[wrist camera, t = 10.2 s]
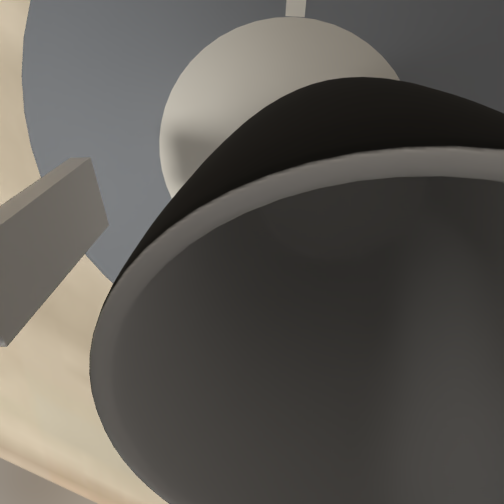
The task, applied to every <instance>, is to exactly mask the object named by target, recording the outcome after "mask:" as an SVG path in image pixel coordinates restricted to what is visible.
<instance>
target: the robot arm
mask: <svg viewBox="0 0 504 504" xmlns="http://www.w3.org/2000/svg"><path fill="white" fill-rule="evenodd" d="M108 226H109V223H108V220H107V216H106V212H105V209H104V205H103V201H102V198H101V194H100V190H99V187H98V183H97V179H96V176H95V172H94V168H93V165H92V161H91V157H84V158H69V159H68V160H67V161H65V162H64V163H62V164H61V165H59V166H58V167H56V168H55V169H53V170H52V171H50V172H49V173H48V174H46V175H45V176H43V177H42V178H40V179H39V180H37V181H36V182H34V183H33V184H32V185H30V186H29V187H27V188H26V189H24V190H23V191H21V192H20V193H18V194H17V195H16V196H14V197H13V198H11V199H10V200H8V201H7V202H5V203H4V204H2V205H1V206H0V347H7V346H8V345H9V344H10V342H11V341H12V340H13V339H14V338H15V336H16V335H17V334H18V333H19V332H20V330H21V329H22V328H23V327H24V326H25V324H26V323H27V322H28V321H29V320H30V319H31V317H32V316H33V315H34V314H35V313H36V311H37V310H38V309H39V308H40V307H41V305H42V304H43V303H44V302H45V301H46V299H47V298H48V297H49V296H50V295H51V293H52V292H53V291H54V290H55V289H56V288H57V286H58V285H59V284H60V283H61V282H62V280H63V279H64V278H65V277H66V276H67V274H68V273H69V272H70V271H71V270H72V268H73V267H74V266H75V265H76V264H77V262H78V261H79V260H80V259H81V258H82V257H83V255H84V254H85V253H86V252H87V251H88V249H89V248H90V247H91V246H92V245H93V243H94V242H95V241H96V240H97V239H98V237H99V236H100V235H101V234H102V233H103V232H104V230H105V229H106V228H107V227H108Z"/></svg>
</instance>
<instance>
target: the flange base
mask: <svg viewBox="0 0 504 504" xmlns="http://www.w3.org/2000/svg"><path fill="white" fill-rule="evenodd" d="M347 77H375V78H387V79H393V80H399V81H405V82H411V83H415V84H419V85H422V86H426V87H429V88H433V89H436V90H440V91H443V92H447V93H450V94H454V95H457V96H460V97H463V98H466V99H469V100H471V101H474V102H477V103H479V104H482V105H484V106H487V107H489V108H492V109H494V110H497V111H499V112H502V113H504V0H31V1H30V6H29V12H28V17H27V23H26V28H25V34H24V42H23V62H22V86H23V100H24V113H25V118H26V123H27V128H28V133H29V138H30V143H31V148H32V151H33V154H34V157H35V160H36V163H37V166H38V170H39V173H40V176H41V178H42V177H43V176H45V175H46V174H48V173H49V172H50V171H52V170H53V169H55V168H56V167H58V166H59V165H61V164H62V163H64V162H65V161H67V160H68V159H69V158H84V157H91V161H92V165H93V168H94V172H95V176H96V179H97V183H98V187H99V190H100V194H101V198H102V201H103V205H104V209H105V212H106V216H107V220H108V223H109V226H108V227H107V228H106V229H105V230H104V232H103V233H102V234H101V235H100V236H99V237H98V239H97V240H96V241H95V242H94V243H93V245H92V246H91V247H90V248H89V249H88V251H87V252H86V253H85V254H86V256H87V257H88V258H89V259H90V260H91V261H92V262H93V263H94V264H95V265H96V267H97V268H98V269H99V270H100V271H101V272H102V273H103V274H104V275H105V276H106V277H107V278H108V279H109V280H110V281H111V282H112V283H114V281H115V280H116V278H117V276H118V275H119V273H120V271H121V270H122V268H123V266H124V265H125V263H126V262H127V260H128V258H129V257H130V256H131V254H132V253H133V251H134V250H135V248H136V247H137V245H138V244H139V242H140V241H141V239H142V238H143V236H144V235H145V233H146V232H147V230H148V229H149V228H150V226H151V225H152V223H153V222H154V221H155V219H156V218H157V217H158V216H159V214H160V213H161V212H162V210H163V209H164V208H165V207H166V205H167V204H168V203H169V202H170V200H171V199H172V198H173V197H174V196H175V194H176V193H177V192H178V191H179V190H180V188H181V187H182V186H183V185H184V184H185V183H186V182H187V180H188V179H189V178H190V177H191V176H192V175H193V173H194V172H195V171H196V170H197V169H198V168H199V167H200V165H201V164H202V163H203V162H204V161H205V160H206V159H207V158H208V157H209V156H210V155H211V154H212V153H213V152H214V151H215V149H217V148H218V147H219V146H220V145H221V144H222V143H223V142H224V141H225V140H226V139H227V138H228V137H229V136H230V135H231V134H232V133H234V132H235V131H236V130H237V129H238V128H239V127H240V126H241V125H242V124H243V123H245V122H246V121H247V120H248V119H250V118H251V117H252V116H254V115H255V114H256V113H258V112H259V111H260V110H262V109H263V108H264V107H266V106H268V105H269V104H271V103H273V102H274V101H276V100H277V99H279V98H281V97H283V96H285V95H287V94H289V93H291V92H293V91H295V90H297V89H300V88H303V87H305V86H308V85H311V84H314V83H318V82H322V81H326V80H331V79H338V78H347Z"/></svg>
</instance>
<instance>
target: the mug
mask: <svg viewBox="0 0 504 504" xmlns="http://www.w3.org/2000/svg"><path fill="white" fill-rule="evenodd" d="M89 374H90V382H91V390H92V395H93V398H94V402H95V406H96V410H97V412H98V415H99V417H100V420H101V422H102V425H103V427H104V429H105V432H106V433H107V435H108V437H109V439H110V441H111V442H112V444H113V446H114V448H115V449H116V450H117V452H118V453H119V455H120V456H121V457H122V459H123V460H124V462H125V463H126V464H127V465H128V466H129V467H130V469H131V470H132V471H133V472H134V473H135V474H136V475H137V476H138V477H139V478H140V479H141V480H142V481H143V482H144V483H145V484H146V485H147V486H148V487H149V488H150V489H151V490H153V491H154V492H155V493H156V494H157V495H159V496H160V497H161V498H162V499H164V500H165V501H166V502H168V503H169V504H504V113H502V112H499V111H497V110H494V109H492V108H489V107H487V106H484V105H482V104H479V103H477V102H474V101H471V100H469V99H466V98H463V97H460V96H457V95H454V94H450V93H447V92H443V91H440V90H436V89H433V88H429V87H426V86H422V85H419V84H415V83H411V82H405V81H399V80H393V79H387V78H375V77H347V78H338V79H331V80H326V81H322V82H318V83H314V84H311V85H308V86H305V87H303V88H300V89H297V90H295V91H293V92H291V93H289V94H287V95H285V96H283V97H281V98H279V99H277V100H276V101H274V102H273V103H271V104H269V105H268V106H266V107H264V108H263V109H262V110H260V111H259V112H258V113H256V114H255V115H254V116H252V117H251V118H250V119H248V120H247V121H246V122H245V123H243V124H242V125H241V126H240V127H239V128H238V129H237V130H236V131H235V132H234V133H232V134H231V135H230V136H229V137H228V138H227V139H226V140H225V141H224V142H223V143H222V144H221V145H220V146H219V147H218V148H217V149H215V151H214V152H213V153H212V154H211V155H210V156H209V157H208V158H207V159H206V160H205V161H204V162H203V163H202V164H201V165H200V167H199V168H198V169H197V170H196V171H195V172H194V173H193V175H192V176H191V177H190V178H189V179H188V180H187V182H186V183H185V184H184V185H183V186H182V187H181V188H180V190H179V191H178V192H177V193H176V194H175V196H174V197H173V198H172V199H171V200H170V202H169V203H168V204H167V205H166V207H165V208H164V209H163V210H162V212H161V213H160V214H159V216H158V217H157V218H156V219H155V221H154V222H153V223H152V225H151V226H150V228H149V229H148V230H147V232H146V233H145V235H144V236H143V238H142V239H141V241H140V242H139V244H138V245H137V247H136V248H135V250H134V251H133V253H132V254H131V256H130V257H129V258H128V260H127V262H126V263H125V265H124V266H123V268H122V270H121V271H120V273H119V275H118V276H117V278H116V280H115V281H114V283H113V285H112V287H111V290H110V292H109V294H108V296H107V298H106V300H105V302H104V304H103V307H102V309H101V312H100V315H99V318H98V321H97V324H96V327H95V330H94V333H93V338H92V344H91V350H90V372H89Z"/></svg>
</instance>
